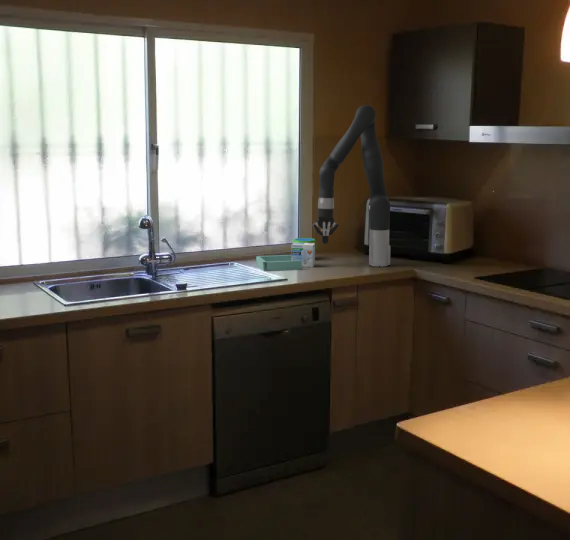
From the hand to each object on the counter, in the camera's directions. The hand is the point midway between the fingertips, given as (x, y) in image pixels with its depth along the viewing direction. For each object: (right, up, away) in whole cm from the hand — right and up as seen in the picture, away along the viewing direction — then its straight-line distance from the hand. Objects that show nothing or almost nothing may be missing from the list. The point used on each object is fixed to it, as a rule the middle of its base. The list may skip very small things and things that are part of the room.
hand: (324, 243), depth 360 cm
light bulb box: (-10, -11, -1) cm, 15 cm away
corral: (-22, -11, -4) cm, 25 cm away
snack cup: (-9, -7, +18) cm, 21 cm away
